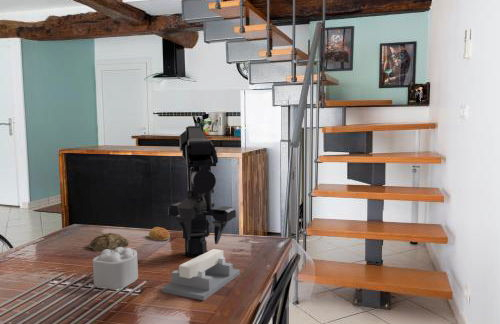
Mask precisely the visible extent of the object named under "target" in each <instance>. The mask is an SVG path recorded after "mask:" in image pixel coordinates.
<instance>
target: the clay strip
mask: <svg viewBox="0 0 500 324" xmlns="http://www.w3.org/2000/svg"><path fill="white" fill-rule="evenodd" d="M207 251H208V252H206V253H204V254H202V255H200V256H198V257H193V258H192V259H190V260H188V261H186V262H184V263H181V264H180V265H179V266H178V268H179V269H178V271H179V273H180V277H185V278H189V279H190V278H192V277H194V276H196V275H198V271H199V270H201V269H202V270H207V269H209V268H211V267H212V266H214V265H216V264H218V263H219V258H221V257H225V256H224V250H223V249H222V250H221V249H219V248H218V249H216V248H213V249H211V250H207Z"/></svg>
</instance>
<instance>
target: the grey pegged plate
mask: <svg viewBox="0 0 500 324" xmlns="http://www.w3.org/2000/svg"><path fill="white" fill-rule="evenodd" d="M233 264H234V263H231V262H226V257H225V256H224V257H221V258H219V263H218V264H216V265H214V266H212V267H211V268H209V269H207V270H202V269H201V270H199V271H198V275H196V276H194V277H192V278H190V279H189V278H185V277H180V273H179V267H178V270H177V269H176V270H173V271H172V272H170V278H171V281H170V282H169V283H167V284H166V285H164V286H162V287H161V292H162V293H165V294H171V295H176V296H180V297H184V298H189V299H195V300H200V301H204V302H205V300H207V299H208V298H210V296H211V297H212V295H213V294H215V293H216V292H217V291H219V290H220V289H222V288H223V287H225V286H226V285H227V284H228V283H230V282H231V281H232V280H233V279H235V278H236V277H238V276H240V275H241V270H240V269H236V268H234V266H233Z"/></svg>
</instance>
